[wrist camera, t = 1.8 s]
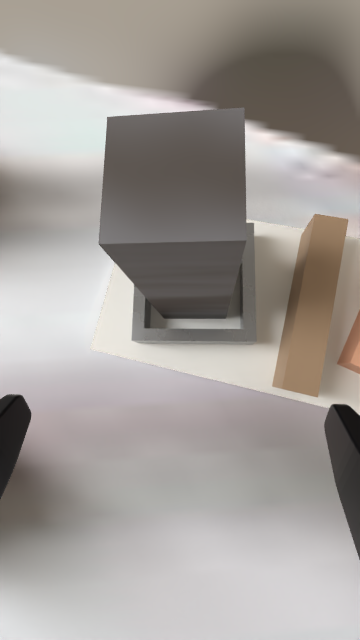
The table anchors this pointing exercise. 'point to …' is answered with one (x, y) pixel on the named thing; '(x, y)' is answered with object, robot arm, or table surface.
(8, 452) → the robot arm
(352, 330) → the collar
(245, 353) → the plate
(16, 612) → the table surface
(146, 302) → the collar
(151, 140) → the peg
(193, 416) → the table surface
